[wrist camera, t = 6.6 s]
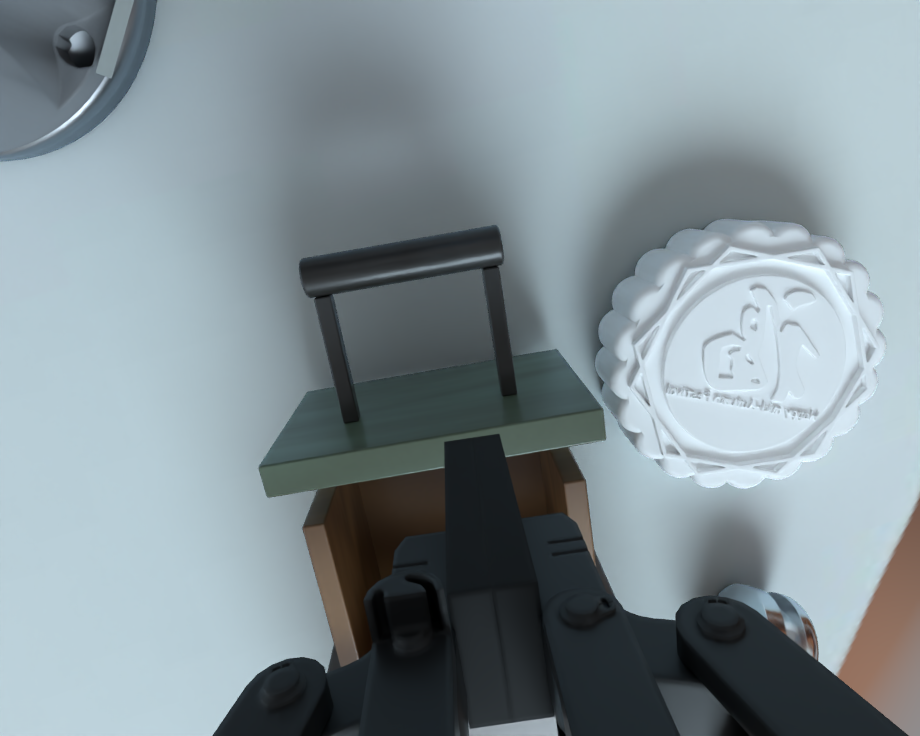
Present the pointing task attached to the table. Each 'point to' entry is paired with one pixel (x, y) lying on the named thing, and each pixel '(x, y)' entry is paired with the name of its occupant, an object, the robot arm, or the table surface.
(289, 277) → the table surface
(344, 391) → the drawer
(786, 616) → the grooved metal pulley
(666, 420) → the mooncake
